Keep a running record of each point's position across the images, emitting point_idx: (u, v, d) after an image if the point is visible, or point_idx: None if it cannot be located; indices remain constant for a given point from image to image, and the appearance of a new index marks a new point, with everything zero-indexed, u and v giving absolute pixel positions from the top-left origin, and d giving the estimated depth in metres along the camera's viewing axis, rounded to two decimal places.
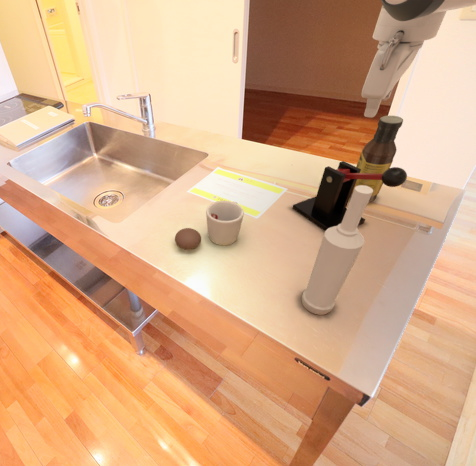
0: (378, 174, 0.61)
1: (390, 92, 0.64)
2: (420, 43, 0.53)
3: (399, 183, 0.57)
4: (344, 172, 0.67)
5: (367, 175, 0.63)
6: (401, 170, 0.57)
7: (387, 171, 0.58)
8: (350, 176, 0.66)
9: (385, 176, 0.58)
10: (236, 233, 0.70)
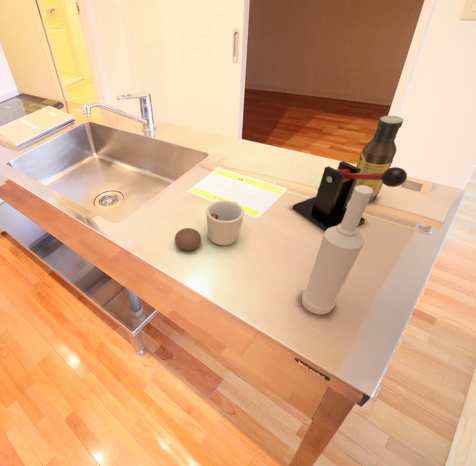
0: (378, 174, 0.61)
1: None
2: None
3: (399, 183, 0.57)
4: (344, 172, 0.67)
5: (367, 175, 0.63)
6: (401, 170, 0.57)
7: (387, 171, 0.58)
8: (350, 176, 0.66)
9: (385, 176, 0.58)
10: (236, 233, 0.70)
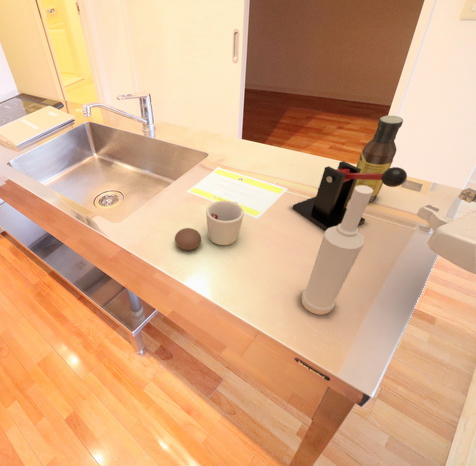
0: (378, 174, 0.61)
1: (437, 209, 0.50)
2: None
3: (399, 183, 0.57)
4: (344, 172, 0.67)
5: (367, 175, 0.63)
6: (401, 170, 0.57)
7: (387, 171, 0.58)
8: (350, 176, 0.66)
9: (385, 176, 0.58)
10: (236, 233, 0.70)
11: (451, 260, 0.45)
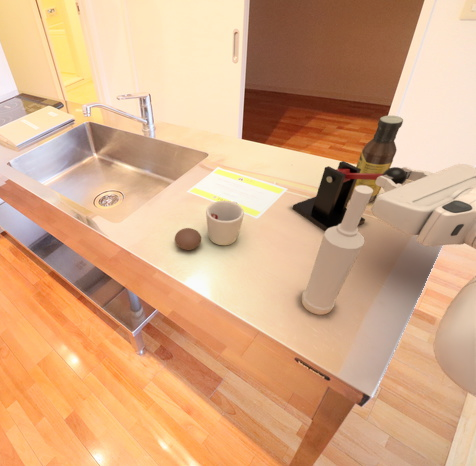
0: (378, 174, 0.61)
1: (391, 177, 0.57)
2: (473, 188, 0.49)
3: (399, 183, 0.57)
4: (344, 172, 0.67)
5: (367, 175, 0.63)
6: (401, 170, 0.57)
7: (387, 171, 0.58)
8: (350, 176, 0.66)
9: None
10: (236, 233, 0.70)
11: (389, 223, 0.52)
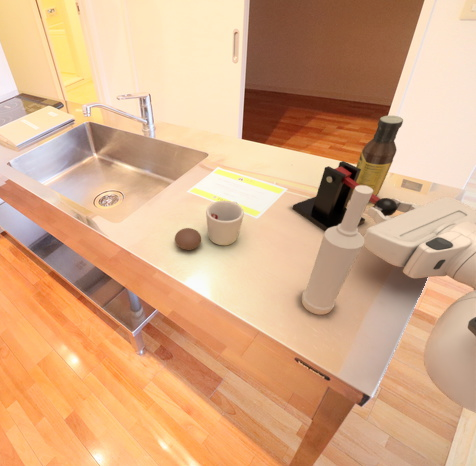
0: (374, 197, 0.63)
1: (381, 209, 0.61)
2: (455, 224, 0.53)
3: None
4: (345, 176, 0.67)
5: None
6: (394, 206, 0.60)
7: (383, 202, 0.61)
8: (349, 183, 0.67)
9: (379, 206, 0.61)
10: (236, 233, 0.70)
11: (377, 254, 0.56)
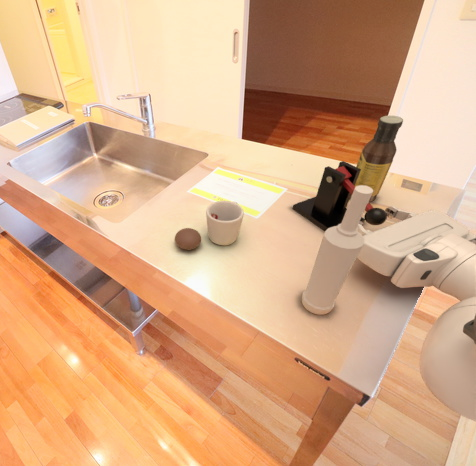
0: (367, 204, 0.65)
1: (362, 223, 0.62)
2: (442, 236, 0.55)
3: None
4: (345, 178, 0.68)
5: None
6: (384, 218, 0.63)
7: (375, 213, 0.63)
8: (347, 186, 0.68)
9: (370, 216, 0.64)
10: (236, 233, 0.70)
11: (367, 263, 0.57)
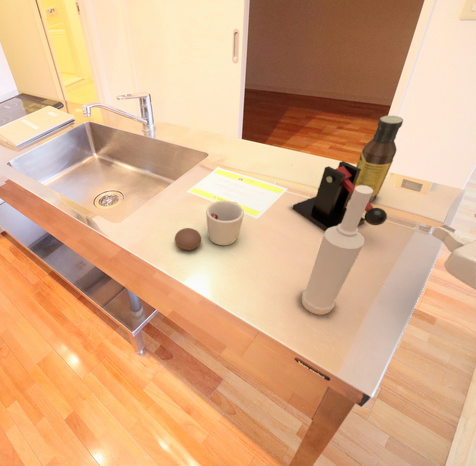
0: (367, 204, 0.65)
1: (453, 229, 0.49)
2: None
3: None
4: (345, 178, 0.68)
5: None
6: (384, 218, 0.63)
7: (375, 213, 0.63)
8: (347, 186, 0.68)
9: (370, 216, 0.64)
10: (236, 233, 0.70)
11: (468, 283, 0.44)
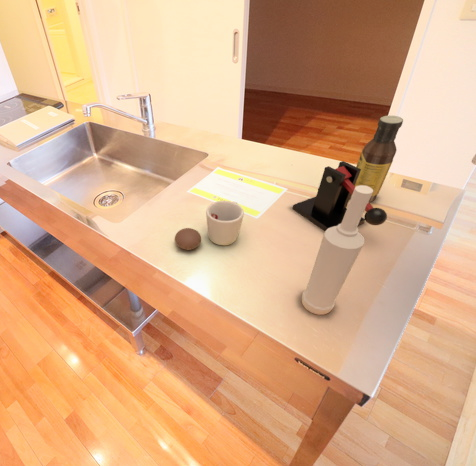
0: (367, 204, 0.65)
1: None
2: None
3: None
4: (345, 178, 0.68)
5: None
6: (384, 218, 0.63)
7: (375, 213, 0.63)
8: (347, 186, 0.68)
9: (370, 216, 0.64)
10: (236, 233, 0.70)
11: None
